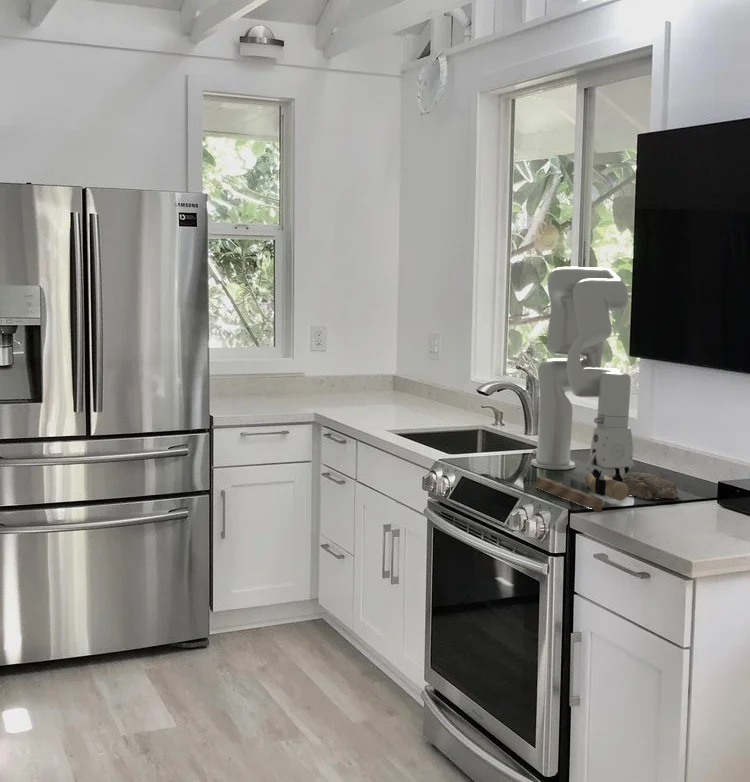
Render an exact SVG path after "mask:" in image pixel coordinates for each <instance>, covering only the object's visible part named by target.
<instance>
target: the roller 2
mask: <svg viewBox="0 0 750 782" xmlns="http://www.w3.org/2000/svg"><path fill="white" fill-rule="evenodd" d="M604 480H605V481H606V486H605V495H604V496H606V497H608V498H612V499H614V500H617V501H623V500H625V499H626V498H627V497H628V496H627V495H628V492H629V489H628V486H627V485H626V484H625V483H622V482H619V481H616V480H613V479H610V478H607V477H604ZM595 481H596V478H594V476H593V477H592V478H591V480H590V484H589V485H590V487H589V488H590V490H591V491H593V492H595Z"/></svg>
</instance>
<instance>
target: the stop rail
mask: <svg viewBox="0 0 750 782" xmlns="http://www.w3.org/2000/svg"><path fill="white" fill-rule="evenodd" d="M536 487H537V488H540V489H543V490H545V491H548V492H550V493H552V494H555V495H557V496H560V497H563V498H566V499H569V500H572V501H574V502H577V503H579V504H582V505H585V506H587V507H589V508H592V509H593V510H594V511H595V512H594V511H593V512H594V513H597V512H599V513H600V512H603V498H601V497H598V496H595V495H592V494H590V493H587V492H585V491H582V490H579V489H578V488H577V489H576V488H574V487H571V486H568V485H567V484H563V483H561V482H558V481H556V480H553V479H550V478H547V477H545V476H536V477H535V488H536ZM537 488H536V489H537Z"/></svg>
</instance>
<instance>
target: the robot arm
mask: <svg viewBox="0 0 750 782" xmlns="http://www.w3.org/2000/svg"><path fill="white" fill-rule="evenodd" d="M547 279H548V280H547V292H548V295H549V300H550V302H549V303H550V312H549V321H548V329H547V339H546V340H547V341H546V344H547V349H548V351H549V352H550V353H551V354H554V355H557V356H558V355H559V356H567V357H560V358H559V357H553V358H547V359H545V360H543V361H542V362H540V364H539V365H538V368H537V377H538V379H537V380H538V386H539V387H538V389H539V408H538V409H539V414H538V431H537V447H536V448H534V449H533V450H532V453H533V454H535V458H533V459H531V461H530V463H531V464H530V465H531V466H533V467H536V468H540V469H544V470H545V469H546V470H552V471H553V470H554V471H556V470H557V471H559V470H560V471H563V470H566V471H567V470H571V469H574V468H575V467H576V462H575V461H572V460H571V445H572V429H573V405H572V404H573V403H571V401H570V399H569V398H568V396H567V395H566V393H567V392H571V393H573V395H574V396H576V397H579V398H598V400H597V401H598V402H597V403H598V405H597V417H595V418H594V419H593V422H594V424H596V426H595V427H594V429H593V434H592V438H591V439H592V440H591V444H590V452H589V455H590V456H589V459H588V460H587V462H586V464H585V466H584V467H585V469H587V471H588V472H591V473H592V474H593V476H594V478H596V481H595V491H594V493H595V494H596V495H598V496H601V497H603V496H606V495H605V486H606V481H605V480H604V476H605V475H606V472H607V470H608V469H613V472H614V474H613V475H615V476H613V478H612V479H613V480H616V481H619V482H623V478H625V475H626V473H629V471H630V470H631V469H632V468H633V467H634V466H635V462H634V459H633V457H634V454H633V453H634V451H633V450H634V449H633V434H632V429H631V427H629V413H630V401H631V400H630V399H631V398H630V397H631V386H632V384H631V382H632V379H631V378H632V377H631V376H630V374H629V373H626V372H623V371H622V370H621V369H620V368H614V367H602V359H603V352H604V342H605V340H606V339H608V338H610V336H611V335H612V333H613V327H612V323H611V317H610V312H611V311H612V312H621V311H623V310H625V309H626V307H627V306H628V303H629V290H628V287H627V285H626V283H625V281H624V280H623V279H622V278H621V277H620V276H619V275H618V274H616V273H615V272H614V271H613V270H611V269H609V268H605V267H585V266H583V267H581V266H580V267H579V266H561V267H560V266H559V267H556V268H554V269H552V270H551V272H550V273H549V276H548V278H547ZM581 356H582V358H581Z"/></svg>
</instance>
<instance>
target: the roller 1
mask: <svg viewBox="0 0 750 782" xmlns="http://www.w3.org/2000/svg"><path fill="white" fill-rule="evenodd" d="M609 476H610V475H606V474H605V476H604V477H607V478H610V479H612V477H609ZM592 477H593V474H592V473H591V472H590V471H588V472H587V473H586V475H585V476H584V484H585V486H586V487H587V486H588V488H590V485H589V484H590V480H591V478H592Z"/></svg>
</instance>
